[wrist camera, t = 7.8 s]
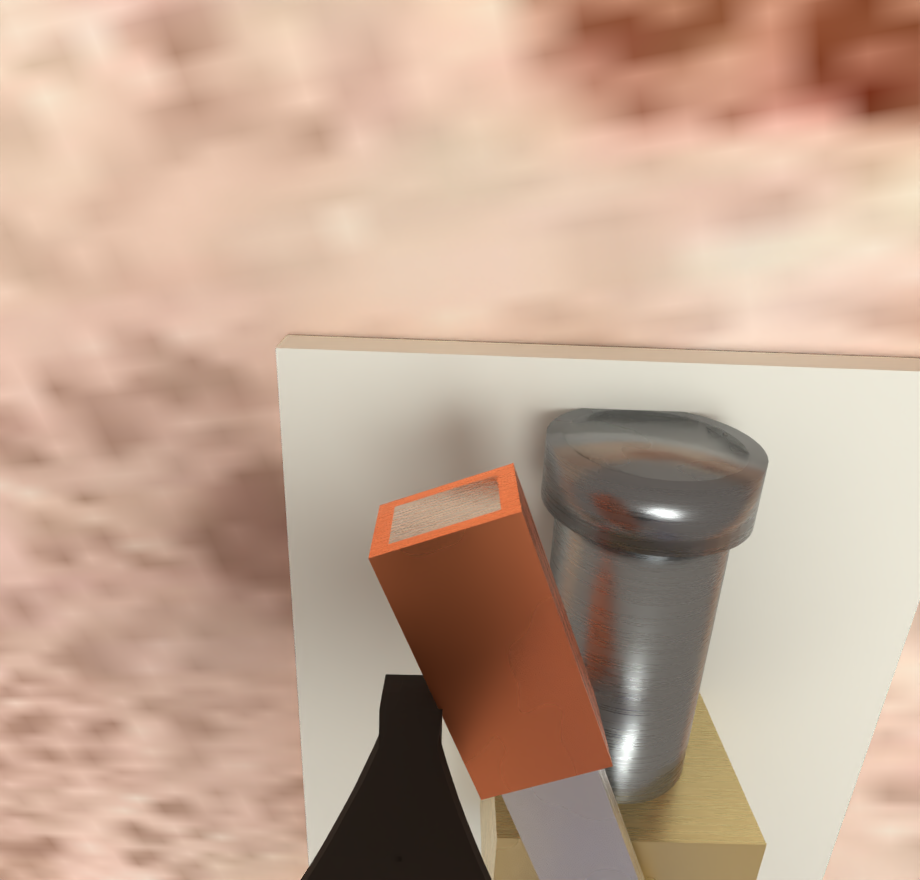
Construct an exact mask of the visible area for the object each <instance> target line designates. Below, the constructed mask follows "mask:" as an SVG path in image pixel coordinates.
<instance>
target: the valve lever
mask: <svg viewBox="0 0 920 880" xmlns="http://www.w3.org/2000/svg"><path fill="white" fill-rule="evenodd" d="M368 559H369V561H370V563H371V565H372V568H373V570H374V572H375V574H376V576H377V578H378V580H379V582H380V585H381V587H382V589H383V591H384V593H385V595H386V597H387V600H388V602H389V604H390V606H391V608H392V610H393V612H394V615H395V617H396V619H397V621H398V623H399V625H400V627H401V630H402V632H403V634H404V636H405V638H406V640H407V642H408V645H409V647H410V649H411V651H412V653H413V655H414V657H415V659H416V662H417V664H418V666H419V668H420V670H421V672H422V674H423V677H424V679H425V681H426V683H427V685H428V687H429V689H430V692H431V694H432V696H433V698H434V700H435V702H436V704H437V707H438V709H443V713H442V717H443V719H444V722H445V724H446V726H447V728H448V730H449V732H450V734H451V736H452V739H453V741H454V743H455V745H456V747H457V749H458V751H459V754H460V756H461V758H462V760H463V762H464V764H465V766H466V769H467V771H468V773H469V775H470V777H471V779H472V781H473V784H474V786H475V788H476V790H477V792H478V794H479V796H480V799H481V800H483V799H487V798H491V797H495V796H499V795H502V798H503V800H504V802H505V804H506V806H507V809H508V811H509V813H510V815H511V817H512V820H513V822H514V824H515V826H516V829H517V831H518V833H519V835H520V837H521V840H522V842H523V844H524V846H525V849H526V851H527V853H528V855H529V857H530V860H531V862H532V864H533V866H534V869H535V871H536V873H537V875H538V877H539V880H645V878H644V876H643V873H642V870H641V868H640V865H639V862H638V859H637V857H636V854H635V851H634V848H633V846H632V843H631V840H630V837H629V835H628V832H627V829H626V826H625V824H624V821H623V818H622V816H621V813H620V810H619V807H618V805H617V802H616V799H615V796H614V794H613V791H612V788H611V785H610V783H609V780H608V777H607V774H606V772H605V769H604V768H608V767H612V766H613V764H612V760H611V756H610V752H609V748H608V744H607V740H606V736H605V732H604V728H603V724H602V720H601V716H600V712H599V708H598V704H597V700H596V696H595V693H594V690H593V687H592V685H591V682H590V679H589V676H588V673H587V670H586V668H585V665H584V662H583V659H582V656H581V653H580V651H579V648H578V645H577V642H576V639H575V636H574V634H573V631H572V628H571V625H570V622H569V619H568V617H567V614H566V611H565V608H564V605H563V602H562V600H561V597H560V594H559V591H558V588H557V585H556V583H555V580H554V577H553V574H552V571H551V568H550V566H549V563H548V560H547V557H546V554H545V551H544V549H543V546H542V543H541V540H540V537H539V534H538V532H537V529H536V526H535V523H534V520H533V517H532V515H531V512H530V509H529V506H528V503H527V500H526V498H525V495H524V492H523V489H522V486H521V483H520V481H519V478H518V475H517V472H516V469H515V466H514V464H513V463H512V464H509V465H506V466H502V467H499V468H496V469H493V470H490V471H487V472H484V473H480V474H477V475H474V476H471V477H468V478H465V479H461V480H458V481H455V482H452V483H449V484H446V485H442V486H439V487H436V488H433V489H430V490H427V491H423V492H420V493H417V494H414V495H411V496H408V497H404V498H401V499H398V500H395V501H392V502H389V503H386V504H382V505H380V506H379V511H378V516H377V520H376V525H375V530H374V534H373V539H372V544H371V548H370V553H369V558H368Z"/></svg>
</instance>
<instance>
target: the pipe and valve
mask: <svg viewBox="0 0 920 880" xmlns="http://www.w3.org/2000/svg"><path fill="white" fill-rule="evenodd" d="M768 463H769V461H768V456H767V454H766V452H765V450H764V449H763V448H762V447H761V445H760V444H758V443H757V442H756V441H755V440H754V439H752V438H751V437H749V436H748V435H746V434H745V433H743V432H741V431H739V430H737V429H735V428H733V427H731V426H729V425H726V424H724V423H721V422H718V421H716V420H713V419H710V418H707V417H703V416H700V415H696V414H692V413H688V412H678V411H650V410H621V409H593V408H580V409H576V410H573V411H570V412H567V413H564V414H562V415H560V416H558V417H557V418H555V419H554V420H553V421H552V422H551V423H550V424H549V426H548V428H547V432H546V442H545V453H544V464H543V475H542V485H541V498H542V501H543V503H544V505H545V507H546V508H547V510H548V511H549V512H550V514H551V515H552V516H553V517H554V528H553V538H552V547H551V557H550V568H551V571H552V574H553V577H554V580H555V583H556V585H557V588H558V591H559V594H560V597H561V600H562V602H563V605H564V608H565V611H566V614H567V617H568V619H569V622H570V625H571V628H572V631H573V634H574V636H575V639H576V642H577V645H578V648H579V651H580V653H581V656H582V659H583V662H584V665H585V668H586V670H587V673H588V676H589V679H590V682H591V685H592V687H593V690H594V693H595V696H596V700H597V704H598V708H599V712H600V716H601V720H602V724H603V728H604V732H605V736H606V740H607V744H608V748H609V752H610V756H611V760H612V764H613V766H612V767H608V768H604V769H605V772H606V774H607V777H608V780H609V783H610V785H611V788H612V791H613V794H614V796H615V799H616V802H617V805H618V807H619V810H620V813H621V816H622V818H623V821H624V824H625V826H626V829H627V832H628V835H629V837H630V840H631V843H632V846H633V848H634V851H635V854H636V857H637V859H638V862H639V865H640V868H641V870H642V873H643V876H644V878H645V880H756V879H757V876H758V873H759V869H760V866H761V862H762V859H763V856H764V852H765V849H766V845H767V844H766V842H765V840H764V837H763V835H762V833H761V831H760V828H759V826H758V824H757V821H756V819H755V817H754V815H753V812H752V810H751V808H750V806H749V803H748V801H747V799H746V796H745V794H744V792H743V790H742V787H741V785H740V783H739V781H738V778H737V776H736V774H735V771H734V769H733V767H732V765H731V762H730V760H729V758H728V756H727V753H726V751H725V749H724V746H723V744H722V742H721V740H720V737H719V735H718V733H717V731H716V728H715V726H714V724H713V721H712V719H711V717H710V715H709V712H708V710H707V708H706V706H705V703H704V701H703V699H702V696H701V694H700V692H699V691H700V686H701V681H702V677H703V672H704V668H705V663H706V658H707V654H708V649H709V644H710V640H711V635H712V631H713V626H714V621H715V617H716V612H717V607H718V603H719V598H720V594H721V589H722V584H723V580H724V575H725V570H726V566H727V561H728V557H729V552H730V549H732V548H734V547H737V546H738V545H740V544H741V543H743V542H744V541H745V540H746V539H747V538H749V537H750V535H751V533H752V531H753V529H754V524H755V520H756V515H757V511H758V507H759V502H760V498H761V494H762V489H763V485H764V480H765V476H766V472H767V467H768ZM480 825H481V855H482V858H483V861H484V863H485V865H486V868H487V870H488V872H489V874H490V876H491V879H492V880H539V877H538V875H537V873H536V871H535V869H534V866H533V864H532V862H531V860H530V857H529V855H528V853H527V851H526V849H525V846H524V844H523V842H522V840H521V837H520V835H519V833H518V831H517V829H516V826H515V824H514V822H513V820H512V817H511V815H510V813H509V811H508V809H507V806H506V804H505V802H504V800H503V798H502V795H499V796H495V797H491V798H487V799H483V800H481V799H480Z"/></svg>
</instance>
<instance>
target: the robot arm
mask: <svg viewBox="0 0 920 880" xmlns="http://www.w3.org/2000/svg"><path fill="white" fill-rule="evenodd" d="M442 713H443V709H438V707H437V704H436V702H435V700H434V698H433V696H432V694H431V692H430V689H429V687H428V685H427V683H426V681H425V679H424V677H423V675H399V674H386V675H385V680H384V685H383V691H382V696H381V702H380V708H379V735H378V737H377V740H376V742H375V745H374V747H373V749H372V751H371V753H370V755H369V757H368V759H367V762H366V764H365V766H364V768H363V770H362V772H361V774H360V776H359V778H358V780H357V783H356V785H355V787H354V789H353V790H352V792H351V794H350V796H349V798H348V800H347V802H346V803H345V805H344V807H343V809H342V811H341V812H340V814H339V816H338V818H337V820H336V821H335V823H334V825H333V827H332V829H331V831H330V832H329V834H328V836H327V838H326V840H325V841H324V843H323V845H322V846H321V848H320V850H319V851H318V853H317V855H316V856H315V858H314V860H313V861H312V863H311V864H310V866H309V868H308V869H307V871H306V872H305V874H304V876H303V877H302V879H301V880H492V879H491V876H490V874H489V872H488V870H487V868H486V865H485V863H484V861H483V858H482V856H481V854H480V851H479V849H478V846H477V844H476V842H475V839H474V837H473V834H472V832H471V829H470V827H469V824H468V822H467V819H466V816H465V814H464V811H463V808H462V806H461V803H460V800H459V797H458V794H457V791H456V788H455V785H454V782H453V779H452V776H451V773H450V770H449V767H448V764H447V761H446V757H445V754H444V750H443V746H442Z"/></svg>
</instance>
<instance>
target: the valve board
mask: <svg viewBox="0 0 920 880" xmlns="http://www.w3.org/2000/svg"><path fill="white" fill-rule="evenodd" d="M276 363H277V379H278V394H279V410H280V425H281V441H282V456H283V472H284V488H285V503H286V519H287V534H288V550H289V565H290V581H291V597H292V612H293V628H294V643H295V659H296V674H297V690H298V706H299V721H300V737H301V752H302V768H303V783H304V799H305V815H306V830H307V846H308V861H309V866H310V864H311V863H312V861H313V860H314V858H315V856H316V855H317V853H318V851H319V850H320V848H321V846H322V845H323V843H324V841H325V840H326V838H327V836H328V834H329V832H330V831H331V829H332V827H333V825H334V823H335V821H336V820H337V818H338V816H339V814H340V812H341V811H342V809H343V807H344V805H345V803H346V802H347V800H348V798H349V796H350V794H351V792H352V790H353V789H354V787H355V785H356V783H357V780H358V778H359V776H360V774H361V772H362V770H363V768H364V766H365V764H366V762H367V759H368V757H369V755H370V753H371V751H372V749H373V747H374V745H375V742H376V740H377V737H378V735H379V708H380V702H381V696H382V691H383V685H384V680H385V675H386V674H399V675H423V674H422V672H421V670H420V668H419V666H418V664H417V662H416V659H415V657H414V655H413V653H412V651H411V649H410V647H409V645H408V642H407V640H406V638H405V636H404V634H403V632H402V630H401V627H400V625H399V623H398V621H397V619H396V617H395V615H394V612H393V610H392V608H391V606H390V604H389V602H388V600H387V597H386V595H385V593H384V591H383V589H382V587H381V585H380V582H379V580H378V578H377V576H376V574H375V572H374V570H373V568H372V565H371V563H370V561H369V559H368V558H369V553H370V548H371V544H372V539H373V534H374V530H375V525H376V520H377V516H378V511H379V506H380V505H382V504H386V503H389V502H392V501H395V500H398V499H401V498H404V497H408V496H411V495H414V494H417V493H420V492H423V491H427V490H430V489H433V488H436V487H439V486H442V485H446V484H449V483H452V482H455V481H458V480H461V479H465V478H468V477H471V476H474V475H477V474H480V473H484V472H487V471H490V470H493V469H496V468H499V467H502V466H506V465H509V464H512V463H513V464H514V466H515V469H516V472H517V475H518V478H519V481H520V483H521V486H522V489H523V492H524V495H525V498H526V500H527V503H528V506H529V509H530V512H531V515H532V517H533V520H534V523H535V526H536V529H537V532H538V534H539V537H540V540H541V543H542V546H543V549H544V551H545V554H546V557H547V560H548V563H549V566H550V557H551V547H552V538H553V528H554V517H553V516H552V515H551V514H550V512H549V511H548V510H547V508H546V507H545V505H544V503H543V501H542V498H541V485H542V475H543V464H544V453H545V442H546V432H547V428H548V426H549V424H550V423H551V422H552V421H553V420H554V419H555V418H557V417H558V416H560V415H562V414H564V413H567V412H570V411H573V410H576V409H580V408H593V409H621V410H650V411H678V412H688V413H692V414H696V415H700V416H703V417H707V418H710V419H713V420H716V421H718V422H721V423H724V424H726V425H729V426H731V427H733V428H735V429H737V430H739V431H741V432H743V433H745V434H746V435H748V436H749V437H751V438H752V439H754V440H755V441H756V442H757V443H758V444H760V445H761V447H762V448H763V449H764V450H765V452H766V454H767V456H768V461H769V463H768V467H767V472H766V476H765V480H764V485H763V489H762V494H761V498H760V502H759V507H758V511H757V515H756V520H755V524H754V529H753V531H752V533H751V535H750V537H749V538H747V539H746V540H745V541H744V542H743V543H741V544H740V545H738V546H737V547H734V548H732V549H730V552H729V557H728V561H727V566H726V570H725V575H724V580H723V584H722V589H721V594H720V598H719V603H718V607H717V612H716V617H715V621H714V626H713V631H712V635H711V640H710V644H709V649H708V654H707V658H706V663H705V668H704V672H703V677H702V681H701V686H700V691H699V692H700V694H701V696H702V699H703V701H704V703H705V706H706V708H707V710H708V712H709V715H710V717H711V719H712V721H713V724H714V726H715V728H716V731H717V733H718V735H719V737H720V740H721V742H722V744H723V746H724V749H725V751H726V753H727V756H728V758H729V760H730V762H731V765H732V767H733V769H734V771H735V774H736V776H737V778H738V781H739V783H740V785H741V787H742V790H743V792H744V794H745V796H746V799H747V801H748V803H749V806H750V808H751V810H752V812H753V815H754V817H755V819H756V821H757V824H758V826H759V828H760V831H761V833H762V835H763V837H764V840H765V842H766V844H767V845H766V849H765V852H764V856H763V859H762V862H761V866H760V869H759V873H758V876H757V879H756V880H823V877H824V874H825V871H826V868H827V865H828V862H829V859H830V857H831V854H832V851H833V848H834V845H835V842H836V839H837V836H838V834H839V831H840V828H841V825H842V822H843V819H844V816H845V813H846V811H847V808H848V805H849V802H850V799H851V796H852V793H853V790H854V788H855V785H856V782H857V779H858V776H859V773H860V770H861V767H862V765H863V762H864V759H865V756H866V753H867V750H868V747H869V744H870V742H871V739H872V736H873V733H874V730H875V727H876V724H877V721H878V719H879V716H880V713H881V710H882V707H883V704H884V701H885V698H886V696H887V693H888V690H889V687H890V684H891V681H892V678H893V675H894V673H895V670H896V667H897V664H898V661H899V658H900V655H901V652H902V650H903V647H904V644H905V641H906V638H907V635H908V632H909V629H910V627H911V624H912V621H913V618H914V615H915V612H916V609H917V606H918V604H919V601H920V358H903V357H876V356H849V355H822V354H794V353H767V352H740V351H713V350H686V349H658V348H631V347H604V346H577V345H550V344H522V343H495V342H468V341H441V340H414V339H386V338H359V337H332V336H305V335H287V336H286V337H285V338H284V339H283V340H282V341H281V342H280V344H279V345H278V346H277V347H276ZM442 746H443V750H444V754H445V757H446V761H447V764H448V767H449V770H450V773H451V776H452V779H453V782H454V785H455V788H456V791H457V794H458V797H459V800H460V803H461V806H462V808H463V811H464V814H465V816H466V819H467V822H468V824H469V827H470V829H471V832H472V834H473V837H474V839H475V842H476V844H477V846H478V849H479V851H480V854H481V825H480V796H479V794H478V792H477V790H476V788H475V786H474V784H473V781H472V779H471V777H470V775H469V773H468V771H467V769H466V766H465V764H464V762H463V760H462V758H461V756H460V754H459V751H458V749H457V747H456V745H455V743H454V741H453V739H452V736H451V734H450V732H449V730H448V728H447V726H446V724H445V722H444V719H443V717H442ZM481 856H482V855H481Z"/></svg>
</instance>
